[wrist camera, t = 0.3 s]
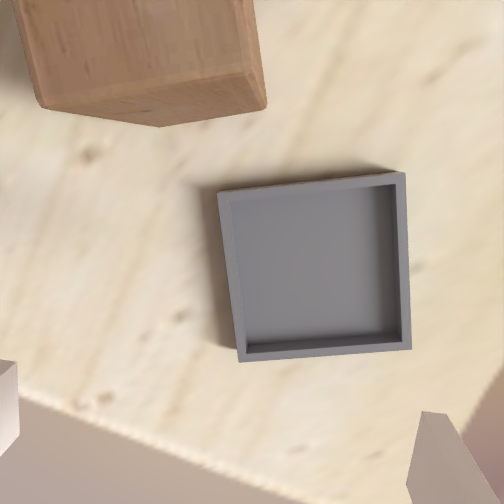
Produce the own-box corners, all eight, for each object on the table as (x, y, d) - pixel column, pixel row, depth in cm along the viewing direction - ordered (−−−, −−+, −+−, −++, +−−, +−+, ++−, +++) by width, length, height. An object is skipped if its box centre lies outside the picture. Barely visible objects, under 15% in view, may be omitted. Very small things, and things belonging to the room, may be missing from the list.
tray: (220, 190, 40) (216, 193, 38) (397, 171, 39) (405, 173, 37) (241, 350, 44) (238, 362, 41) (404, 337, 42) (412, 349, 40)
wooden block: (155, 128, 39) (34, 110, 20) (131, 5, 37) (-31, -150, 18) (268, 109, 38) (256, 72, 19) (250, -18, 36) (215, -208, 17)
